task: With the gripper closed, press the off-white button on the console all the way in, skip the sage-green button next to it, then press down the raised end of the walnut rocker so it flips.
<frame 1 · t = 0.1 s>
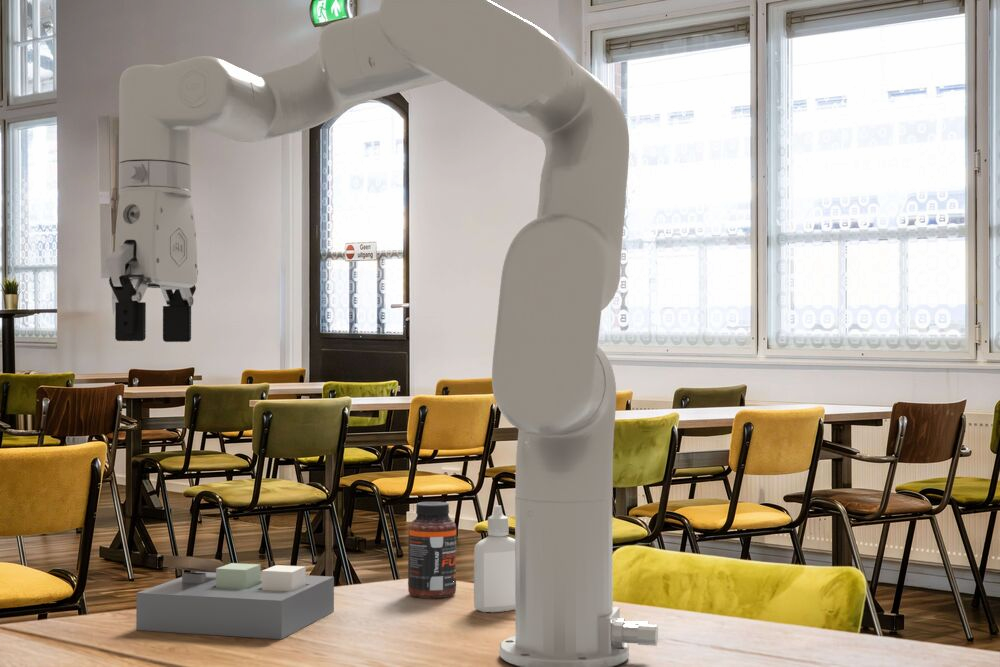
hand: (154, 341, 131), 31 cm above the table, tool pointing down, fingers open, 9 cm apart
rocker: (194, 563, 137), point 6 cm above the table, hinge at 14.0°
white button: (283, 583, 134), point 4 cm above the table, slide at 0.0 cm
eye dropper bottle: (498, 610, 141), on the table
sage button: (238, 580, 136), point 4 cm above the table, slide at 0.0 cm
console: (238, 620, 136), on the table
supplement bottle: (432, 596, 150), on the table
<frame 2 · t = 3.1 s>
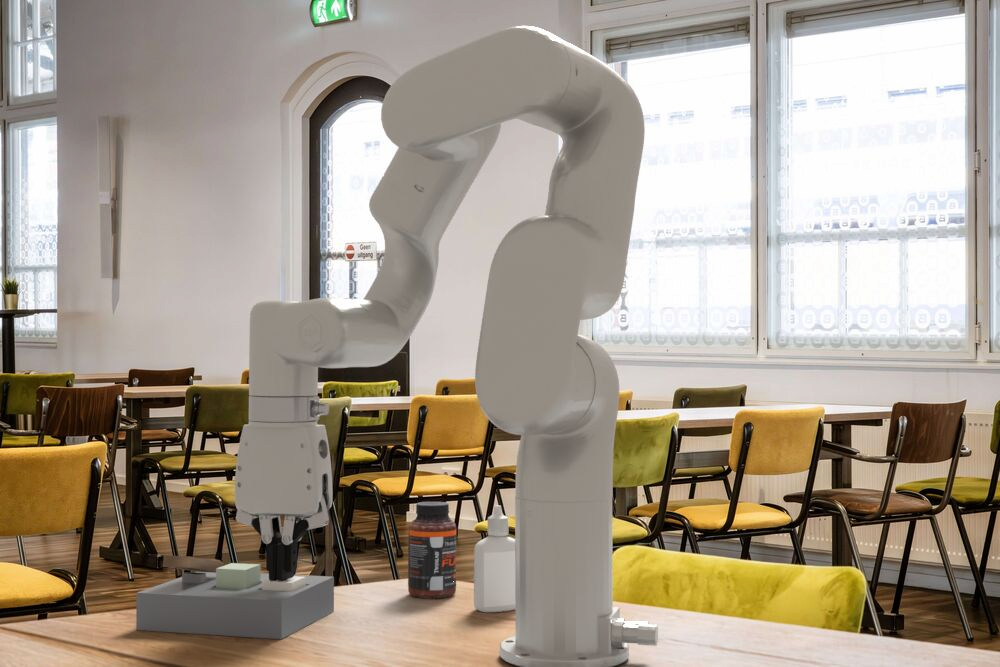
hand: (281, 578, 134), 5 cm above the table, tool pointing down, fingers closed
white button: (283, 593, 134), point 3 cm above the table, slide at 1.2 cm, touching gripper
everything else where it was.
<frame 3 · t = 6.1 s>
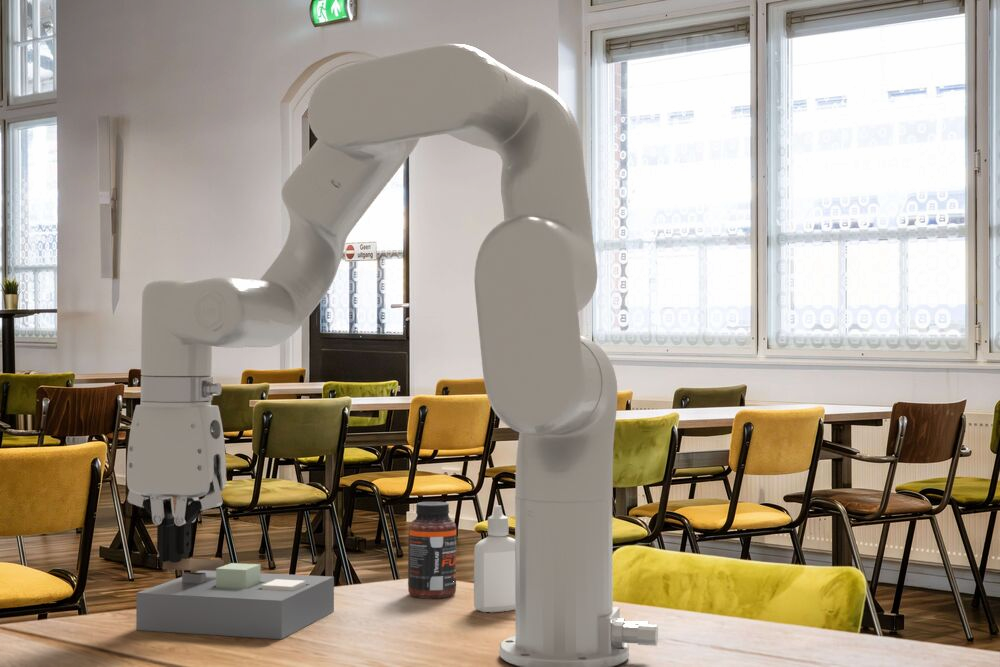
hand: (173, 559, 134), 7 cm above the table, tool pointing down, fingers closed
rocker: (194, 563, 137), point 6 cm above the table, hinge at 9.9°, touching gripper
white button: (283, 597, 134), point 3 cm above the table, slide at 1.6 cm
everything else where it was.
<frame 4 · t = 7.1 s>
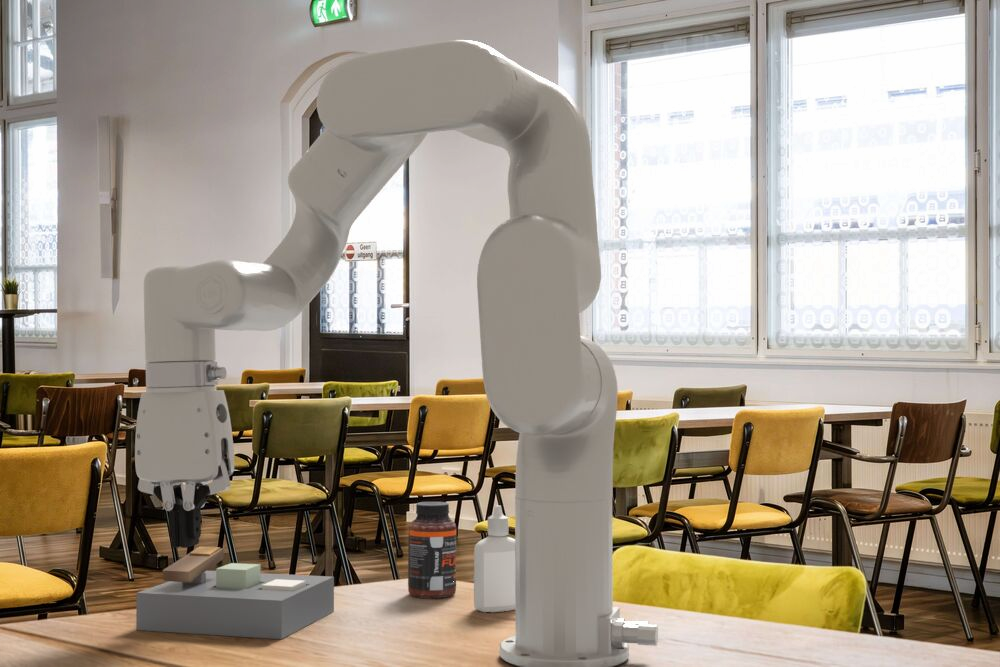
hand: (185, 545, 134), 9 cm above the table, tool pointing down, fingers closed
rocker: (193, 563, 137), point 6 cm above the table, hinge at -9.3°
everything else where it was.
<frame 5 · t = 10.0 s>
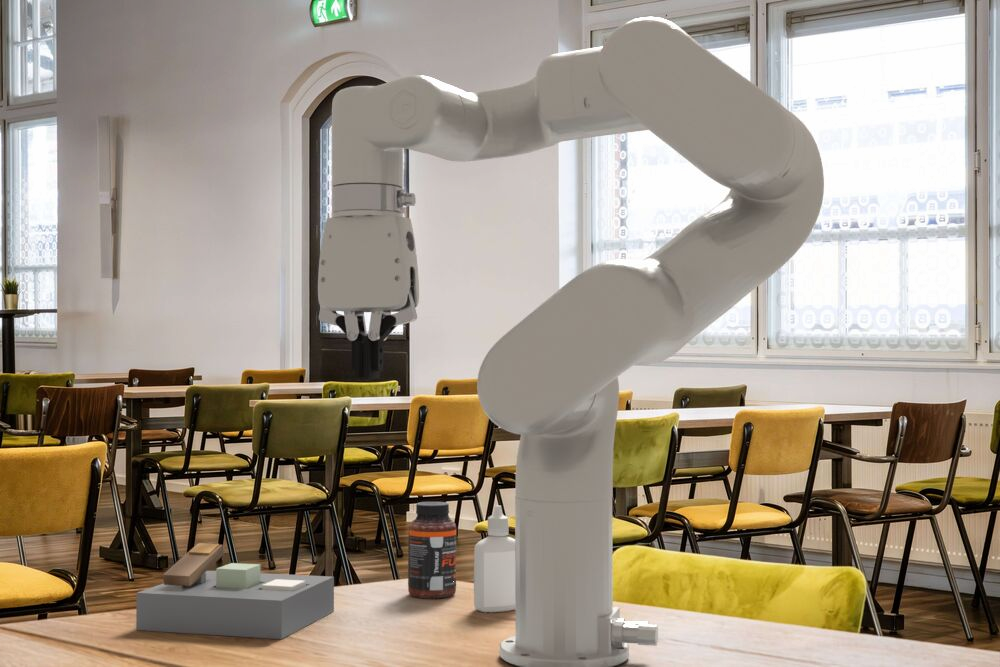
hand: (367, 378, 129), 27 cm above the table, tool pointing down, fingers closed
rocker: (193, 563, 137), point 6 cm above the table, hinge at -16.1°
everything else where it was.
at the end: white button slide at 1.6 cm; rocker at -16° (first picture: +14°); sage button slide at 0.0 cm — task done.
